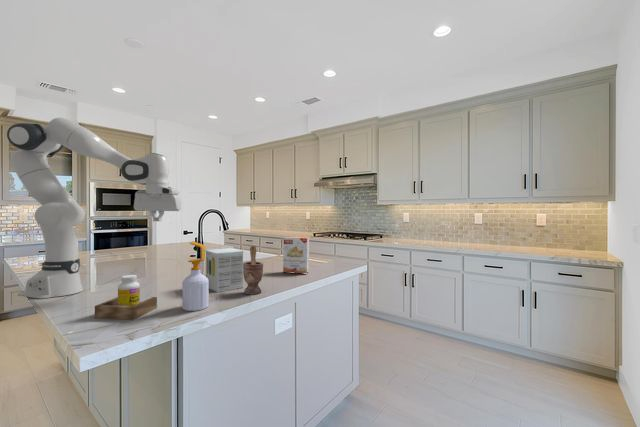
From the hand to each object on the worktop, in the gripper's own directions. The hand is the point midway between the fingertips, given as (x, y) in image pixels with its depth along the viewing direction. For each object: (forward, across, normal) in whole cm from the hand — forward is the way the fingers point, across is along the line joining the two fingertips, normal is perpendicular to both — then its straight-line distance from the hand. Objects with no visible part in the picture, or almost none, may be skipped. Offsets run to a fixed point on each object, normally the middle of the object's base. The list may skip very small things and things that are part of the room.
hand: (157, 221), depth 138 cm
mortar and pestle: (+31, +42, +4) cm, 53 cm away
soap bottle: (+31, +28, -20) cm, 47 cm away
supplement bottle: (+31, +7, -28) cm, 42 cm away
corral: (+31, +7, -28) cm, 42 cm away
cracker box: (+31, +55, +46) cm, 78 cm away
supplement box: (+31, +27, +10) cm, 42 cm away
